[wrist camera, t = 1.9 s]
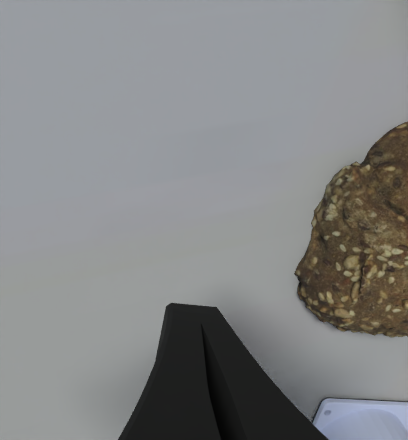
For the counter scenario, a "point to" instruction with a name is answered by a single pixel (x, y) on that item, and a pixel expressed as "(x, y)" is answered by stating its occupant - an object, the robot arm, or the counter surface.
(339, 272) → the bread roll
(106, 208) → the counter surface
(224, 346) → the robot arm
